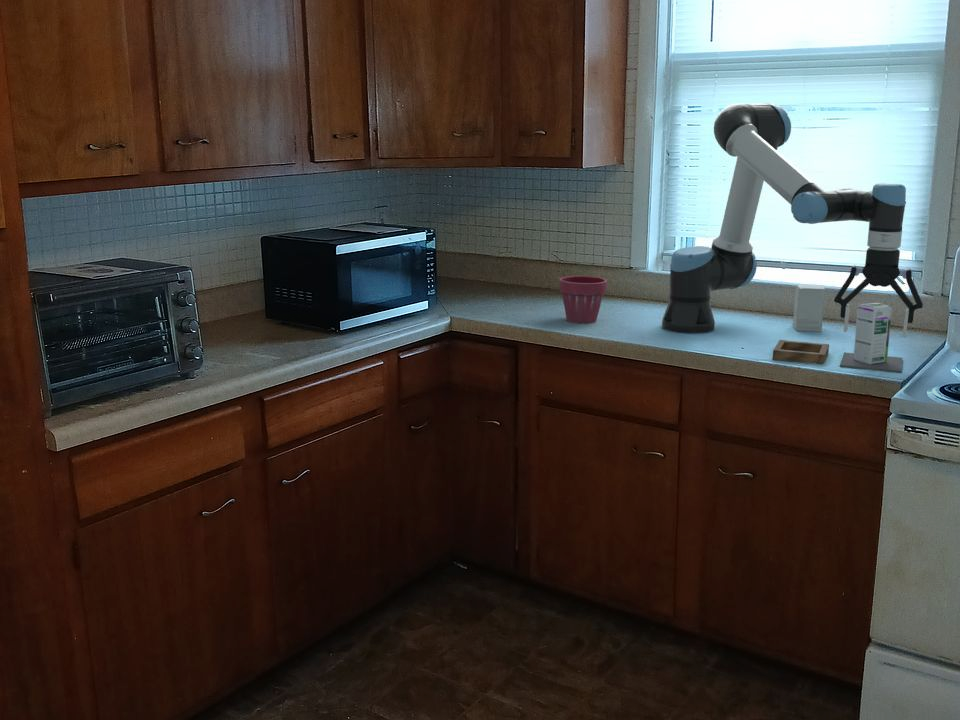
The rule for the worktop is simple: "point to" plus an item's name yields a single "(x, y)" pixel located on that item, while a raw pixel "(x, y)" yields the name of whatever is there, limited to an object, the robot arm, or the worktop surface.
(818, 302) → the supplement box
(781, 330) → the worktop surface
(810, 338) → the worktop surface
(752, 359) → the worktop surface
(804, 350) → the walnut collar
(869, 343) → the syrup box
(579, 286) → the plant pot
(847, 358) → the charcoal mat
